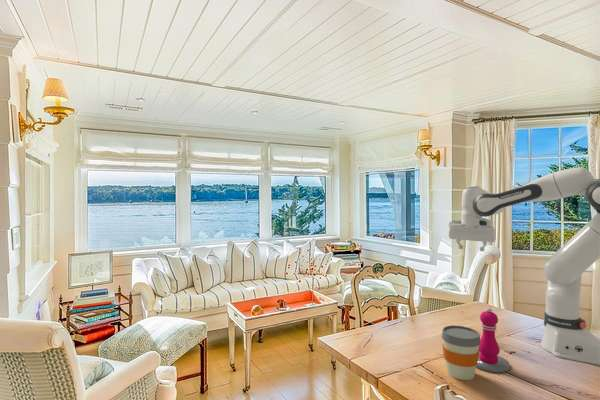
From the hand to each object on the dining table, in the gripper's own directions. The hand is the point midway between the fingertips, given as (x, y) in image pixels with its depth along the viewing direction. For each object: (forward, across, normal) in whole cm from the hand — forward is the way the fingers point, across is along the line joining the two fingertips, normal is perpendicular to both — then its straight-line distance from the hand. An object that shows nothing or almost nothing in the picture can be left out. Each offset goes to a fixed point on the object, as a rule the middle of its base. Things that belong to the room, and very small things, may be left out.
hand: (471, 250), depth 168 cm
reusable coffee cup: (+37, +11, -48) cm, 61 cm away
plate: (+37, +16, -33) cm, 52 cm away
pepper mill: (+36, +16, -33) cm, 51 cm away
